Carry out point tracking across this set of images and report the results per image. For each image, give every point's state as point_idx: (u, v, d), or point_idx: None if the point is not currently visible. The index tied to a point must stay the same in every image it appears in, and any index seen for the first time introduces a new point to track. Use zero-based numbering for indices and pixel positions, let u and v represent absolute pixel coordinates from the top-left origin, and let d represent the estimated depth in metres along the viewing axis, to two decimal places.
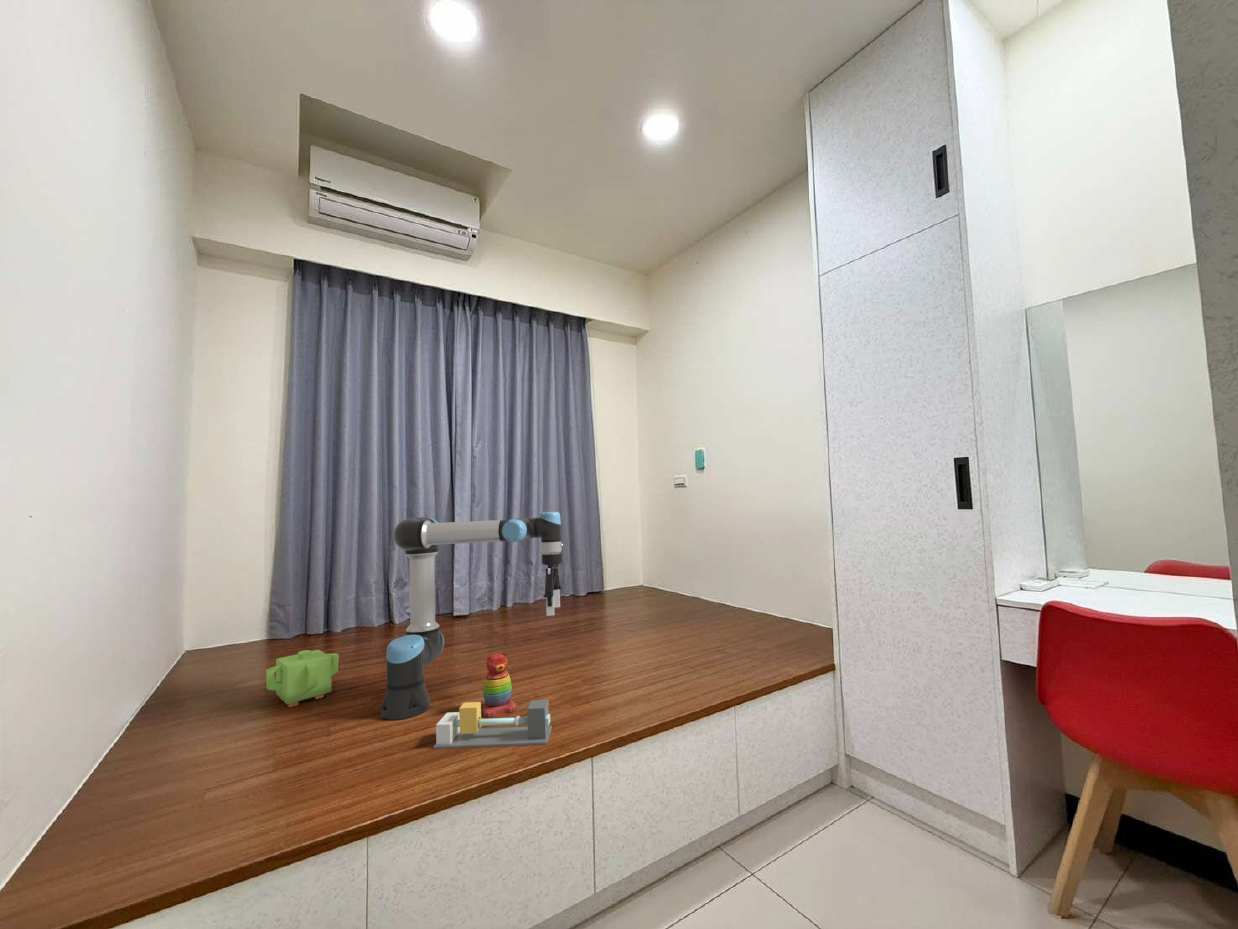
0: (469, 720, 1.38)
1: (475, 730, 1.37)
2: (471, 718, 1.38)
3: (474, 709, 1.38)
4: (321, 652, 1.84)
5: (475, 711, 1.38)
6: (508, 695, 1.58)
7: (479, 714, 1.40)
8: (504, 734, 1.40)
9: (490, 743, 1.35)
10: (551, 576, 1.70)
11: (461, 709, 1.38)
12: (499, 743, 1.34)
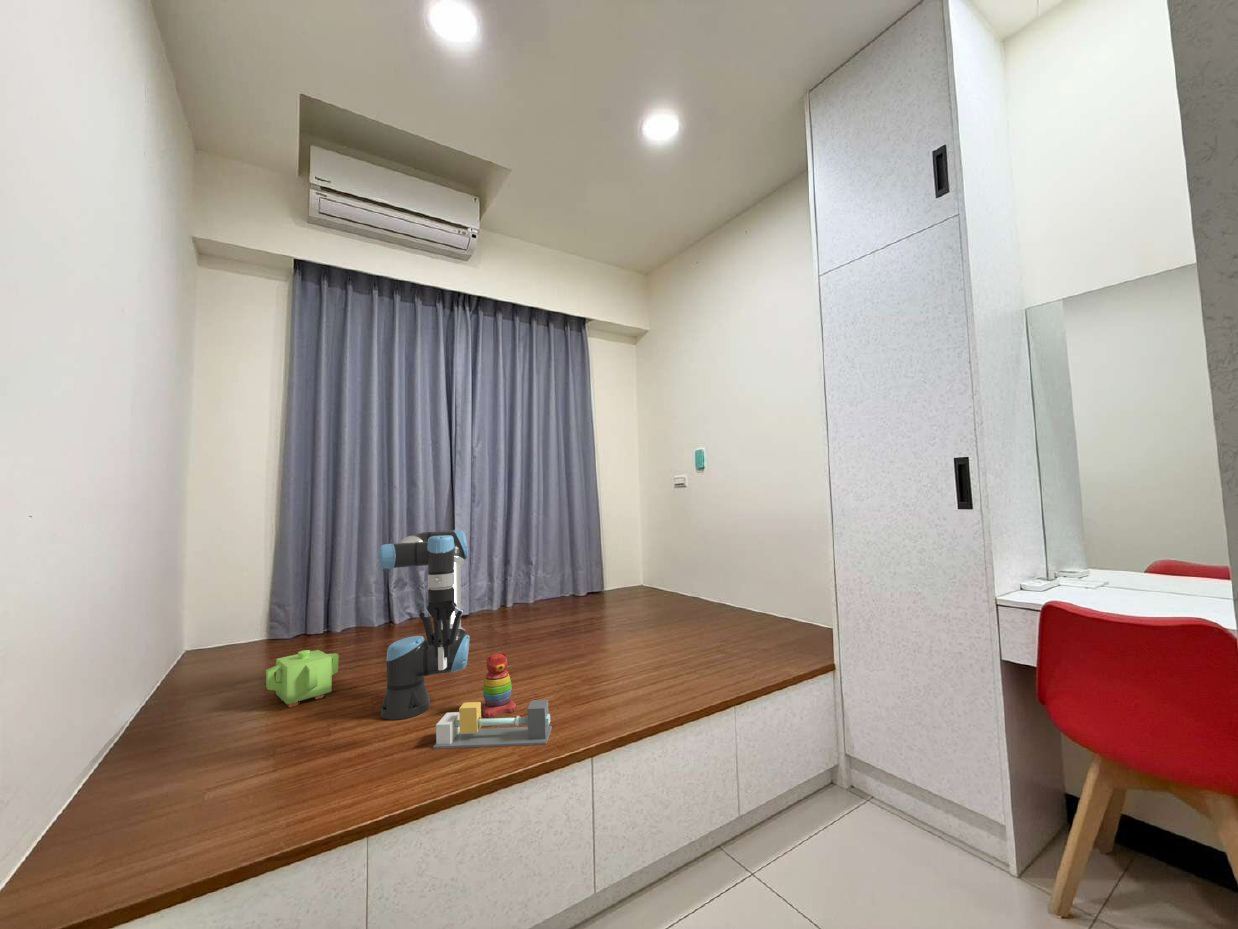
0: (469, 720, 1.38)
1: (475, 730, 1.37)
2: (471, 718, 1.38)
3: (474, 709, 1.38)
4: (321, 652, 1.84)
5: (475, 711, 1.38)
6: (508, 695, 1.58)
7: (479, 714, 1.40)
8: (504, 734, 1.40)
9: (490, 743, 1.35)
10: None
11: (461, 709, 1.38)
12: (499, 743, 1.34)
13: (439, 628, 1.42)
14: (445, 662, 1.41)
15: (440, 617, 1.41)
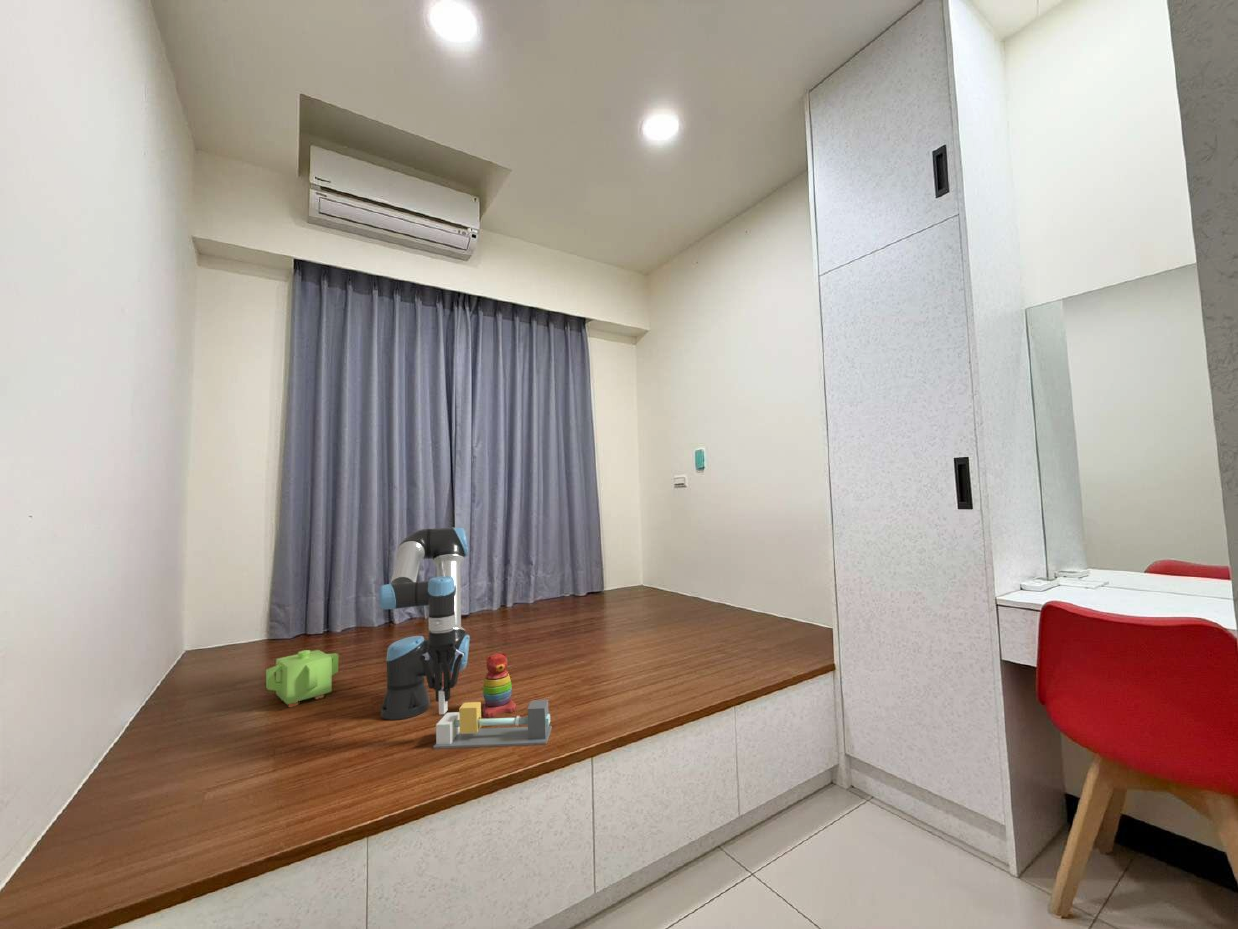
0: (469, 720, 1.38)
1: (475, 730, 1.37)
2: (471, 718, 1.38)
3: (474, 709, 1.38)
4: (321, 652, 1.84)
5: (475, 711, 1.38)
6: (508, 695, 1.58)
7: (479, 714, 1.40)
8: (504, 734, 1.40)
9: (490, 743, 1.35)
10: None
11: (461, 709, 1.38)
12: (499, 743, 1.34)
13: (440, 671, 1.41)
14: (446, 705, 1.40)
15: (441, 660, 1.40)
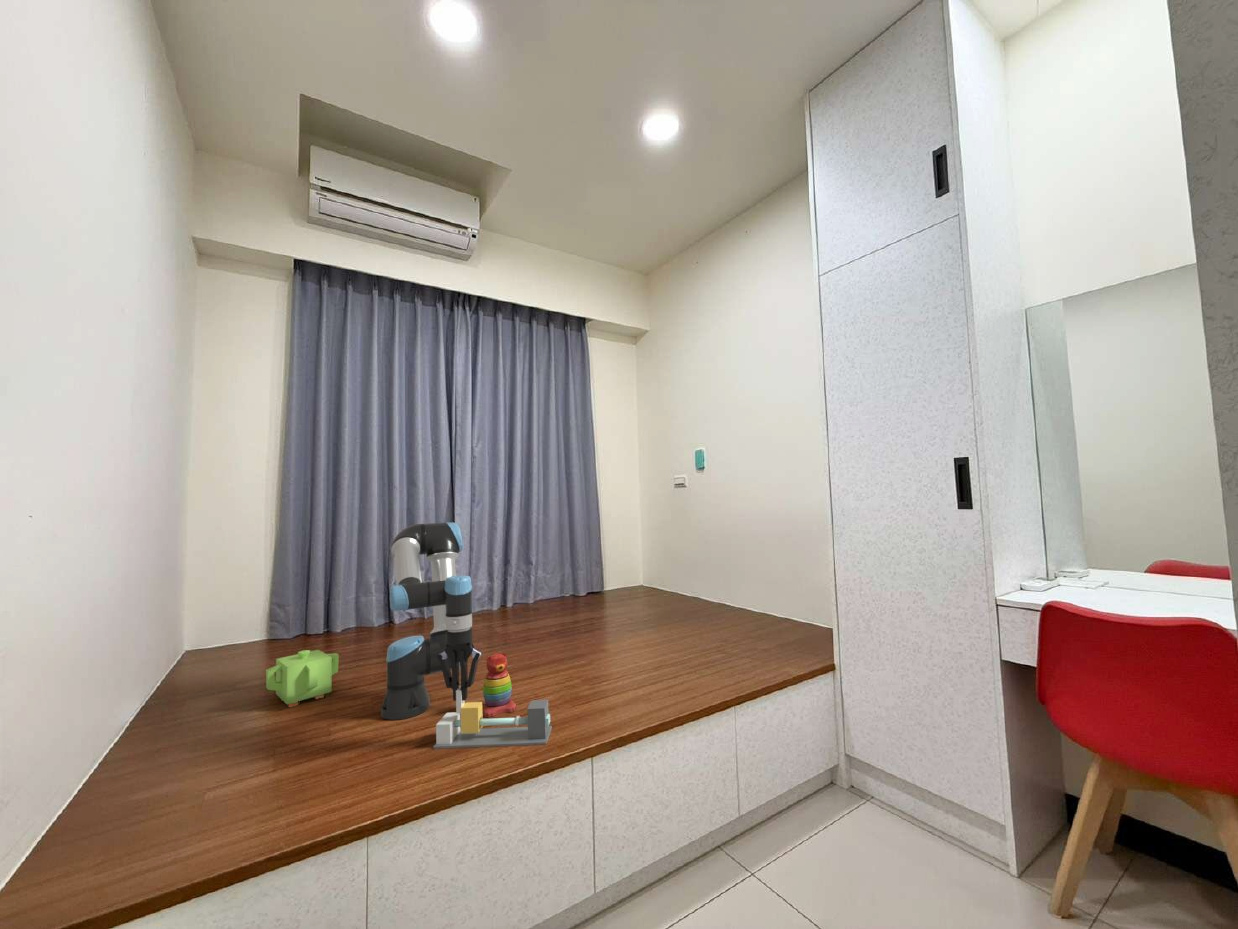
0: (471, 720, 1.38)
1: (477, 730, 1.37)
2: (473, 718, 1.38)
3: (475, 709, 1.38)
4: (321, 652, 1.84)
5: (477, 711, 1.38)
6: (508, 695, 1.58)
7: (480, 714, 1.40)
8: (504, 734, 1.40)
9: (490, 743, 1.35)
10: None
11: (463, 709, 1.38)
12: (499, 743, 1.34)
13: (457, 670, 1.40)
14: None
15: (458, 659, 1.40)
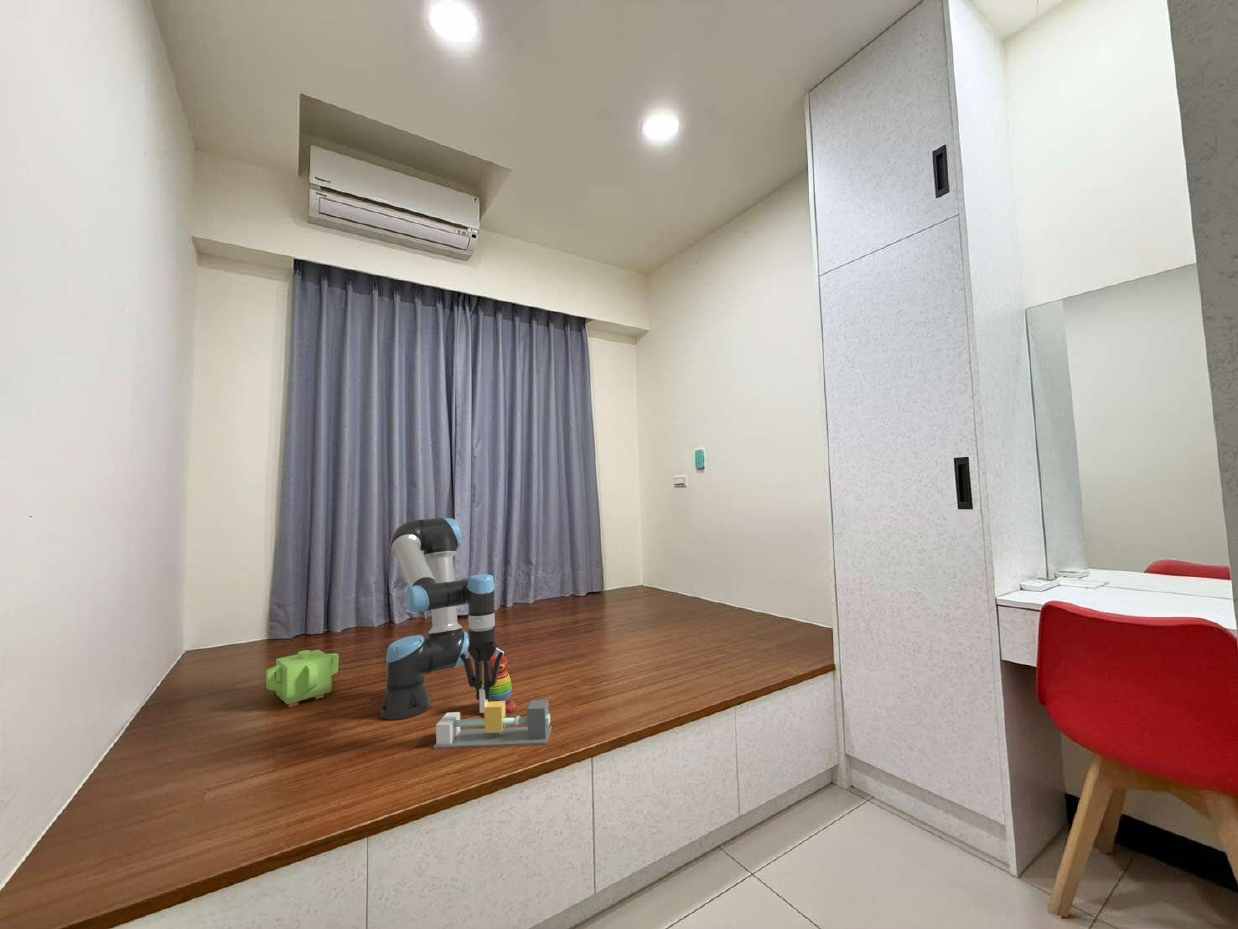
0: (494, 719, 1.37)
1: (500, 729, 1.37)
2: (496, 717, 1.37)
3: (499, 708, 1.38)
4: (321, 652, 1.84)
5: (500, 710, 1.38)
6: (508, 695, 1.58)
7: (503, 713, 1.40)
8: (504, 734, 1.40)
9: (490, 743, 1.35)
10: None
11: (486, 708, 1.38)
12: (499, 743, 1.34)
13: (480, 669, 1.40)
14: None
15: (481, 658, 1.40)
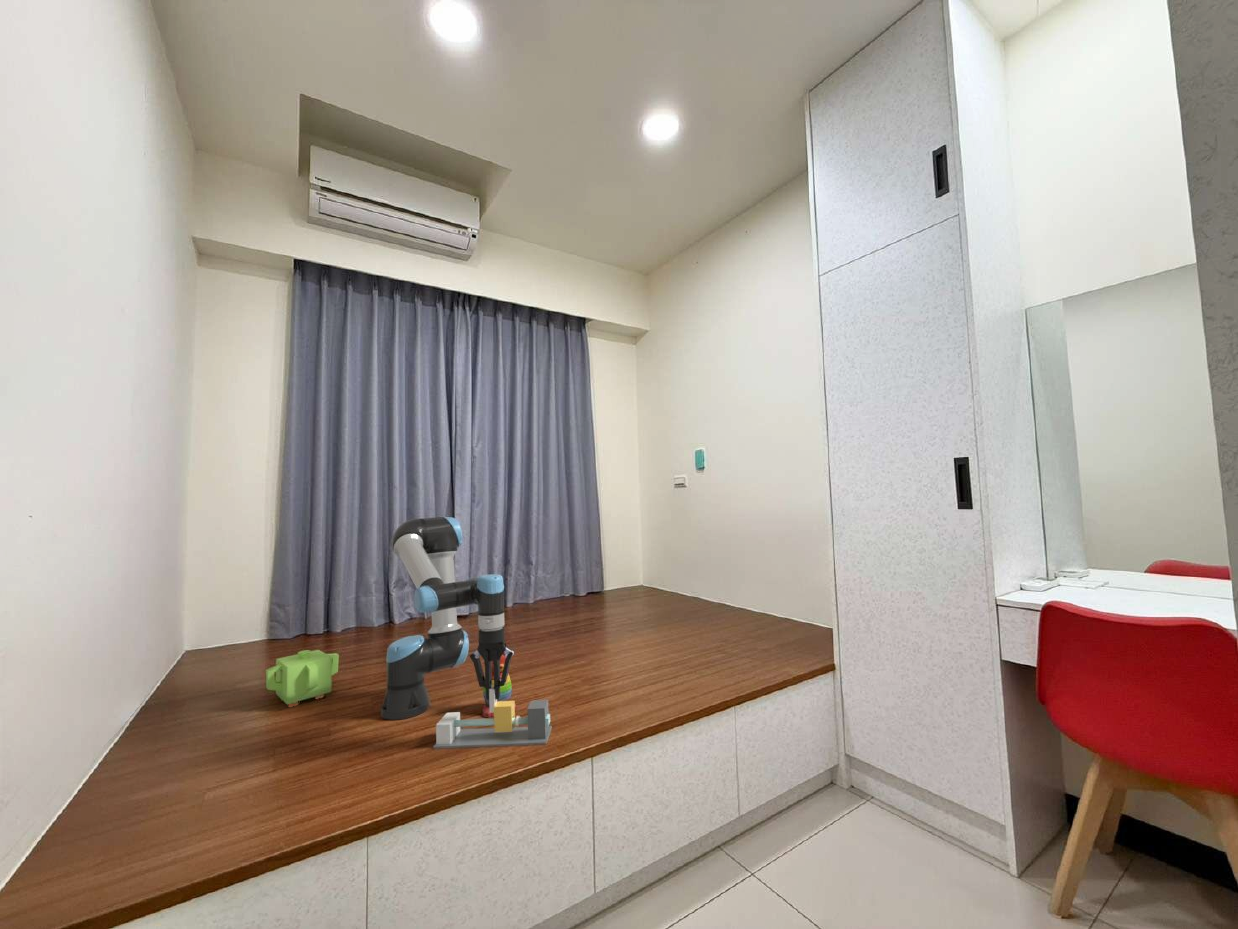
0: (504, 719, 1.37)
1: (510, 729, 1.37)
2: (506, 717, 1.37)
3: (508, 708, 1.38)
4: (321, 652, 1.84)
5: (510, 710, 1.38)
6: (508, 695, 1.58)
7: (513, 712, 1.40)
8: (504, 734, 1.40)
9: (490, 743, 1.35)
10: None
11: (496, 708, 1.38)
12: (499, 743, 1.34)
13: (490, 669, 1.40)
14: None
15: (491, 658, 1.40)
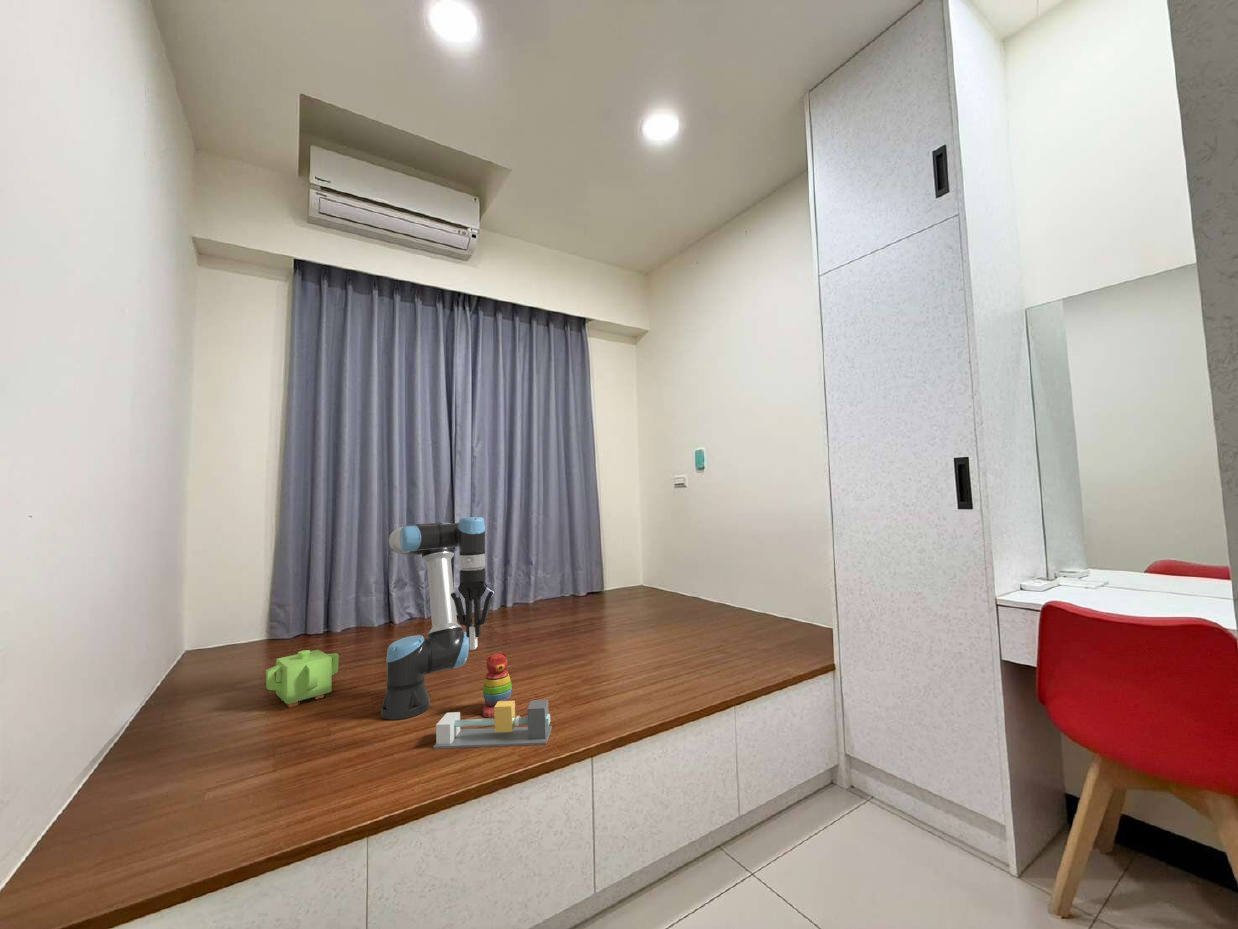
0: (504, 719, 1.37)
1: (510, 729, 1.37)
2: (506, 717, 1.37)
3: (509, 708, 1.38)
4: (321, 652, 1.84)
5: (510, 710, 1.38)
6: (508, 695, 1.58)
7: (513, 712, 1.40)
8: (504, 734, 1.40)
9: (490, 743, 1.35)
10: None
11: (496, 708, 1.38)
12: (499, 743, 1.34)
13: (470, 608, 1.43)
14: (476, 642, 1.43)
15: (471, 597, 1.42)
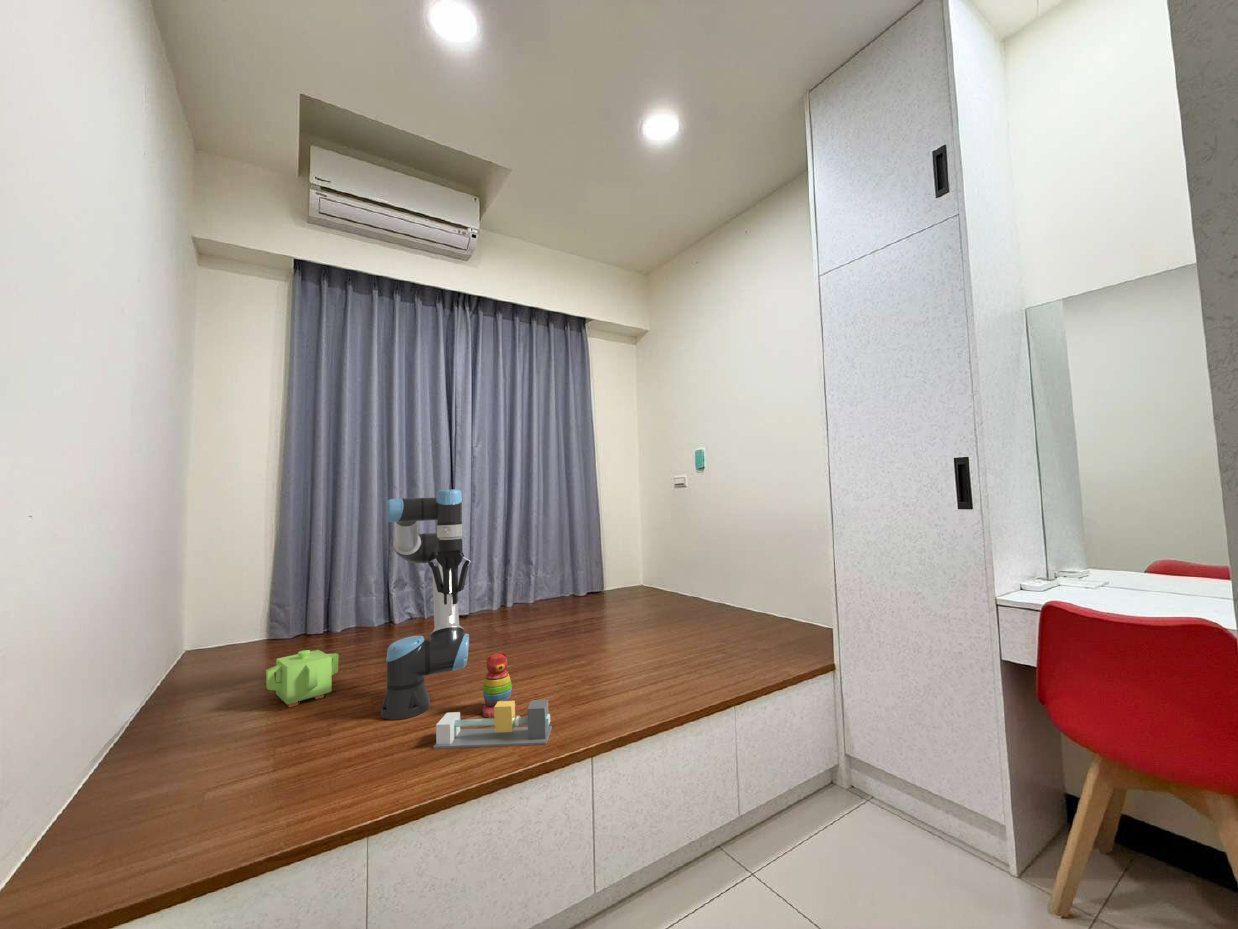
0: (504, 719, 1.37)
1: (510, 729, 1.37)
2: (506, 717, 1.37)
3: (509, 708, 1.38)
4: (321, 652, 1.84)
5: (510, 710, 1.38)
6: (508, 695, 1.58)
7: (513, 712, 1.40)
8: (504, 734, 1.40)
9: (490, 743, 1.35)
10: None
11: (496, 708, 1.38)
12: (499, 743, 1.34)
13: (448, 577, 1.49)
14: (453, 609, 1.49)
15: (449, 566, 1.48)
